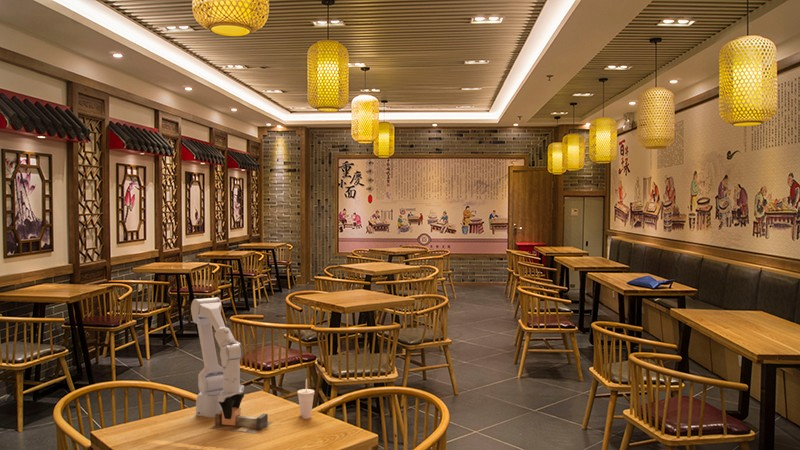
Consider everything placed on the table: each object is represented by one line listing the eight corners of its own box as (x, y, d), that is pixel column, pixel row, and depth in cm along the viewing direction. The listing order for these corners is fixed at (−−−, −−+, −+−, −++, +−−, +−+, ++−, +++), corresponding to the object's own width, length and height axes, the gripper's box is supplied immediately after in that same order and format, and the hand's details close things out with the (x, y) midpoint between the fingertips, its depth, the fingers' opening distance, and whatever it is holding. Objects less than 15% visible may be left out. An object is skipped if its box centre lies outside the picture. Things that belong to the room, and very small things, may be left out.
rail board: (209, 431, 209) (209, 416, 208) (227, 420, 220) (227, 406, 220) (256, 436, 204) (256, 421, 204) (272, 424, 216) (272, 410, 215)
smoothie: (316, 414, 227) (316, 377, 227) (312, 420, 221) (312, 382, 220) (299, 414, 228) (299, 377, 228) (295, 419, 221) (295, 381, 221)
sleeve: (221, 424, 212) (221, 410, 212) (227, 420, 216) (227, 406, 216) (234, 425, 210) (234, 411, 210) (240, 421, 214) (240, 408, 214)
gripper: (230, 384, 205) (230, 424, 205) (251, 373, 219) (251, 411, 219) (212, 382, 207) (212, 422, 207) (234, 372, 221) (234, 409, 221)
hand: (231, 416), depth 213 cm, fingers closed on sleeve, 4 cm apart
